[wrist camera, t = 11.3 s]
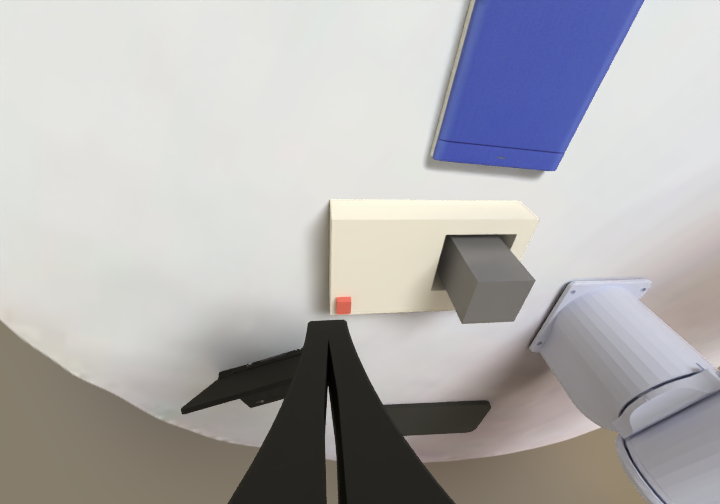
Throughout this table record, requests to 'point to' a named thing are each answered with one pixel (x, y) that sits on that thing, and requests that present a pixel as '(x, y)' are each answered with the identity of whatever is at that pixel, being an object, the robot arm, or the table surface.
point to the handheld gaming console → (250, 383)
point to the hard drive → (527, 78)
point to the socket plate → (408, 249)
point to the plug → (483, 278)
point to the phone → (438, 417)
